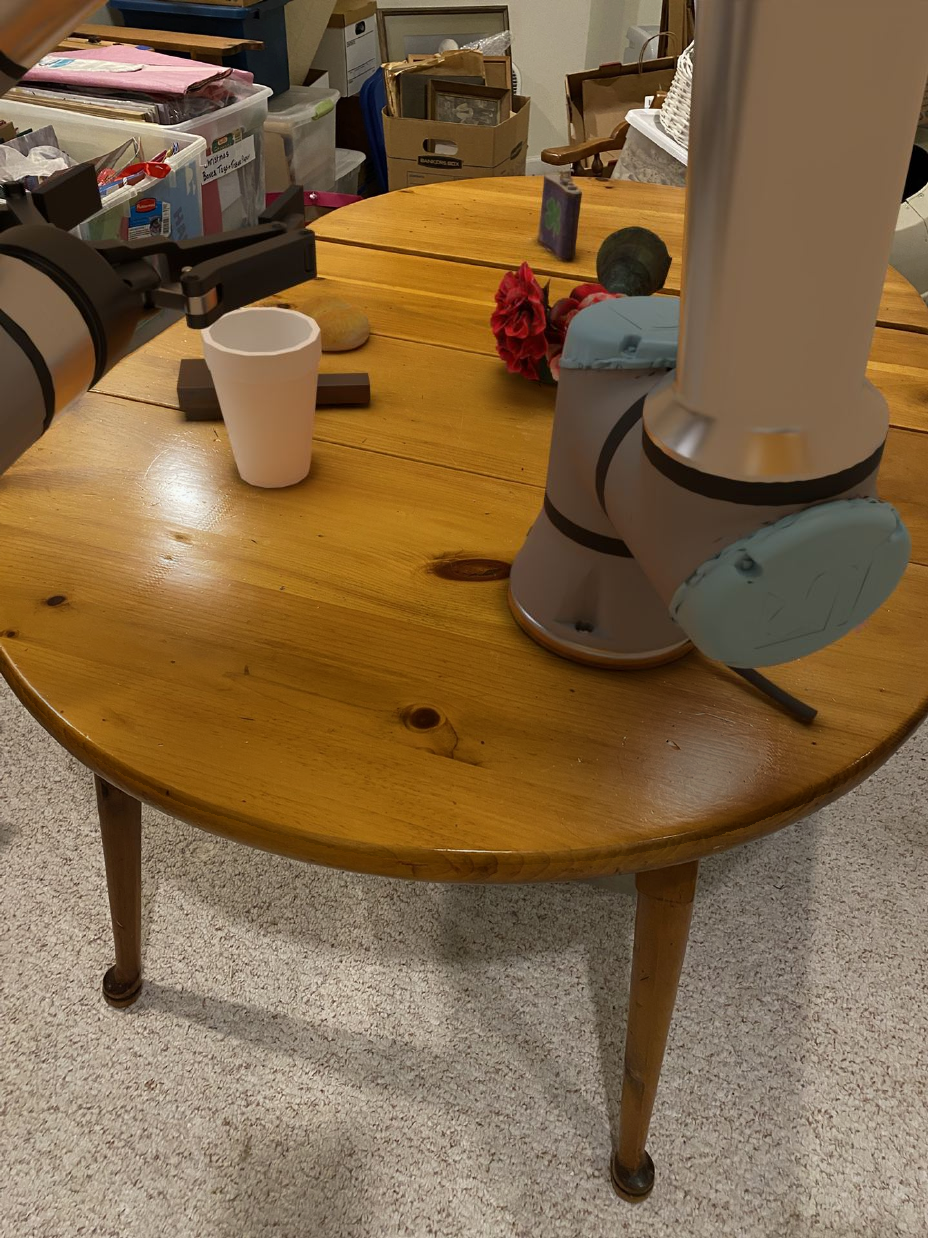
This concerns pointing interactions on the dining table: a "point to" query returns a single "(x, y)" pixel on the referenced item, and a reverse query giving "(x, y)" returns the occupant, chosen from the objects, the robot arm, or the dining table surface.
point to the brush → (204, 403)
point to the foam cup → (266, 389)
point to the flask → (560, 215)
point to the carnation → (571, 301)
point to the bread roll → (336, 322)
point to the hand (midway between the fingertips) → (195, 196)
